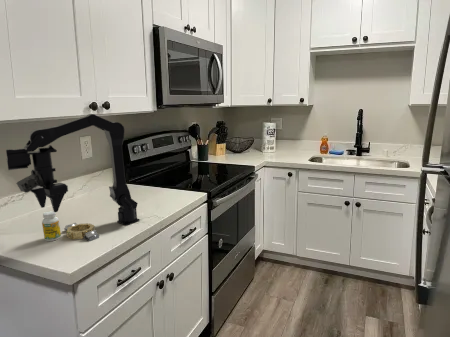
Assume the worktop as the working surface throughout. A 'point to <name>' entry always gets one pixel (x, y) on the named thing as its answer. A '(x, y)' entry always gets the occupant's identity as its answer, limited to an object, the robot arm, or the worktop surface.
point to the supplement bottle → (51, 226)
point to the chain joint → (81, 231)
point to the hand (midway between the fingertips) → (49, 209)
